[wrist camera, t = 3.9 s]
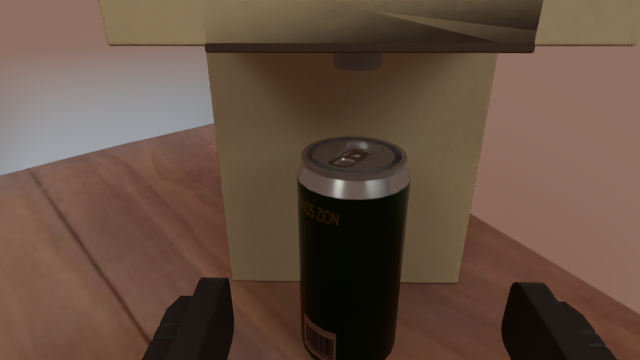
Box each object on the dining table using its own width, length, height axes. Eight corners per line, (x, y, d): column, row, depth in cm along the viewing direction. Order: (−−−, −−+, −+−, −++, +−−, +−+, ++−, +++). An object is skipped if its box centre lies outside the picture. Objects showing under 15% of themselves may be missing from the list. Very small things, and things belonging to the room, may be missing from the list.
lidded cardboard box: (518, 426, 20) (663, -37, 11) (186, 420, 20) (89, -35, 12) (427, 212, 38) (457, -26, 30) (254, 211, 39) (236, -25, 30)
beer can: (368, 399, 21) (383, 189, 16) (283, 354, 24) (272, 161, 19) (407, 331, 25) (428, 146, 20) (331, 299, 28) (333, 128, 23)
